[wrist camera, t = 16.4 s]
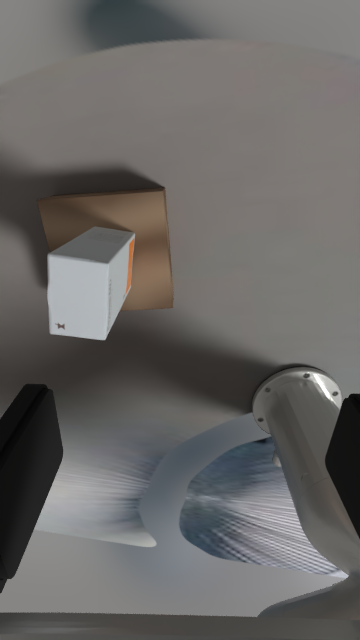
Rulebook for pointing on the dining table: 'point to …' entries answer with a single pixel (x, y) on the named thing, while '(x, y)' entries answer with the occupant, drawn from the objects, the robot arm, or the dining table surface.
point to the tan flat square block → (126, 215)
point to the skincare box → (89, 282)
